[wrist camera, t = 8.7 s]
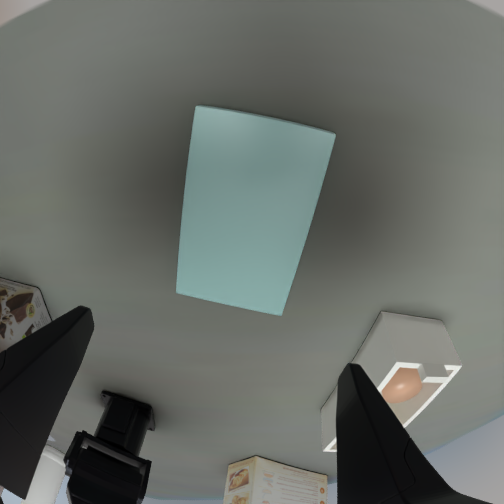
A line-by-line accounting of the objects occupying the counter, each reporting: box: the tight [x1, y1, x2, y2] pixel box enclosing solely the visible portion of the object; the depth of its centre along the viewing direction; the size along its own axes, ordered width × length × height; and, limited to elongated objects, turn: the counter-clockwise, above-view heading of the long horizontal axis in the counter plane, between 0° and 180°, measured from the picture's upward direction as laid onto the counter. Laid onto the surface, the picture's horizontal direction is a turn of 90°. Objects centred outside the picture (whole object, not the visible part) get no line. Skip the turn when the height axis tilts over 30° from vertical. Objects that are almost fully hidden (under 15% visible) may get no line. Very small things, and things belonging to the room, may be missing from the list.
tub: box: [321, 311, 462, 452], centre depth 23 cm, size 14×6×6 cm, turn 170°
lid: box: [176, 105, 336, 316], centre depth 19 cm, size 12×7×2 cm, turn 169°
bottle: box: [21, 445, 66, 504], centre depth 43 cm, size 8×8×30 cm
